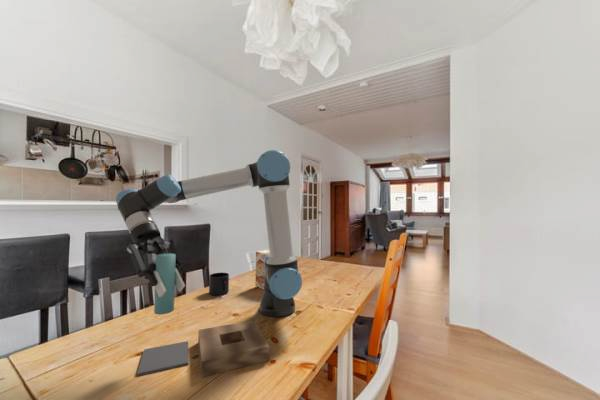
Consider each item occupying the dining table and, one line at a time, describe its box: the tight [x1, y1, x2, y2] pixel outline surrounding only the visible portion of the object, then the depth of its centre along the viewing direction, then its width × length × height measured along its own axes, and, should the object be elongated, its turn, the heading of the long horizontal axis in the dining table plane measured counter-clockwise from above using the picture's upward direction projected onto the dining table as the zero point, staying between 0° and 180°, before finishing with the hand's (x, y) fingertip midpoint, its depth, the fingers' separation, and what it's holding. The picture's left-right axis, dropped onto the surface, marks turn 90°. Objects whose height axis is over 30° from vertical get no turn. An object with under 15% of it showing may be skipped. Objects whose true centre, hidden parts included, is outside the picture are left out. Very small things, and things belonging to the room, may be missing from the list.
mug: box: [208, 272, 230, 297], centre depth 126 cm, size 9×12×9 cm
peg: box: [153, 253, 176, 315], centre depth 73 cm, size 5×5×16 cm
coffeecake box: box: [255, 249, 270, 290], centre depth 135 cm, size 15×7×20 cm, turn 50°
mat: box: [136, 340, 189, 377], centre depth 72 cm, size 12×12×1 cm
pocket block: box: [197, 319, 271, 378], centre depth 76 cm, size 18×18×4 cm
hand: (172, 291), depth 71 cm, fingers closed on peg, 5 cm apart
